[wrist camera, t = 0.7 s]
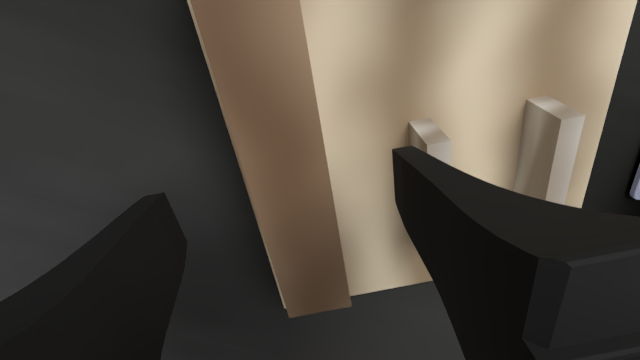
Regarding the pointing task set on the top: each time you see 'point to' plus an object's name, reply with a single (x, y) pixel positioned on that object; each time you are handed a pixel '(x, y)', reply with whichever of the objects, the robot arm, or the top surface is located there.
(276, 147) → the slat
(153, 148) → the top surface
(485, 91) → the slat board
